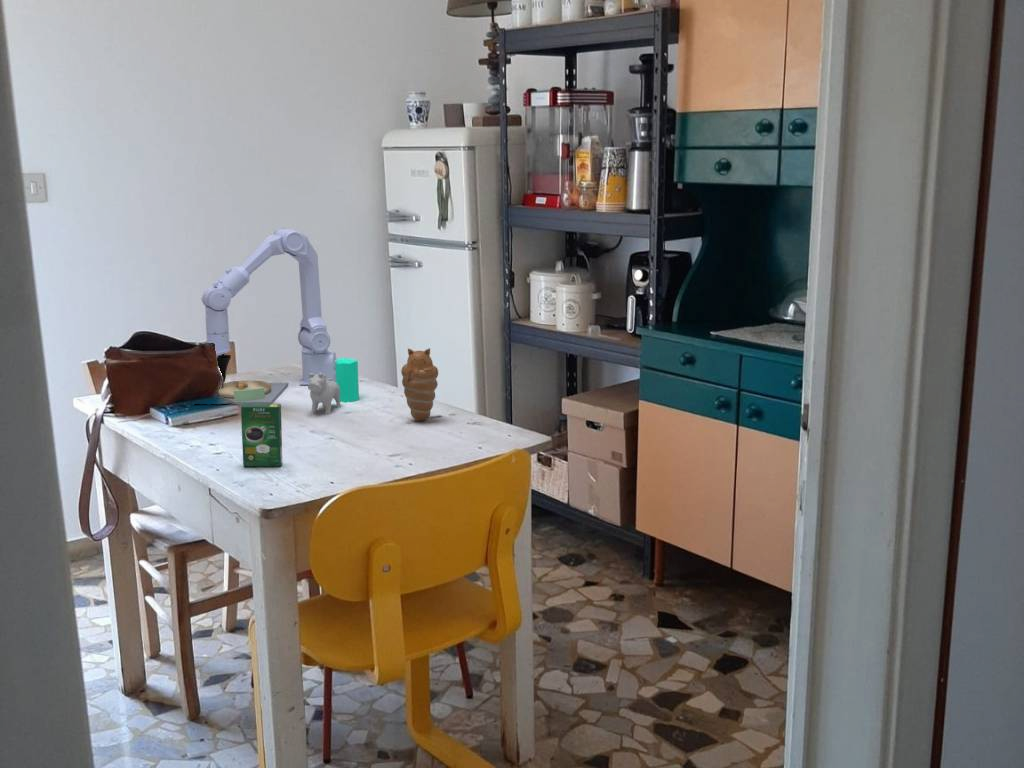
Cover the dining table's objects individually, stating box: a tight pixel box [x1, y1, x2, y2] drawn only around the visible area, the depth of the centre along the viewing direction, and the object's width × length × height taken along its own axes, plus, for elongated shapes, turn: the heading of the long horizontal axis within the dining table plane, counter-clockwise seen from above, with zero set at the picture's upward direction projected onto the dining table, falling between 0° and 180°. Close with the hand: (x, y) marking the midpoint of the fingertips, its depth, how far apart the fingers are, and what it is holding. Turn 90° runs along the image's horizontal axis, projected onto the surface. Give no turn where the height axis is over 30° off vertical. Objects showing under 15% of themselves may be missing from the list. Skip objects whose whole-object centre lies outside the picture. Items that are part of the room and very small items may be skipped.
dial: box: [219, 376, 271, 398], centre depth 263 cm, size 15×16×4 cm
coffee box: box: [240, 403, 283, 468], centre depth 203 cm, size 8×3×13 cm, turn 93°
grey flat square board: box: [224, 382, 289, 406], centre depth 264 cm, size 20×22×1 cm
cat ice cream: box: [400, 348, 439, 422], centre depth 237 cm, size 9×8×18 cm
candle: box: [335, 356, 360, 403], centre depth 259 cm, size 6×6×12 cm
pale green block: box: [234, 387, 265, 401], centre depth 256 cm, size 8×2×3 cm, turn 116°
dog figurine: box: [307, 373, 341, 415], centre depth 247 cm, size 5×13×11 cm, turn 169°
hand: (220, 382), depth 264 cm, fingers closed, pressing on dial
